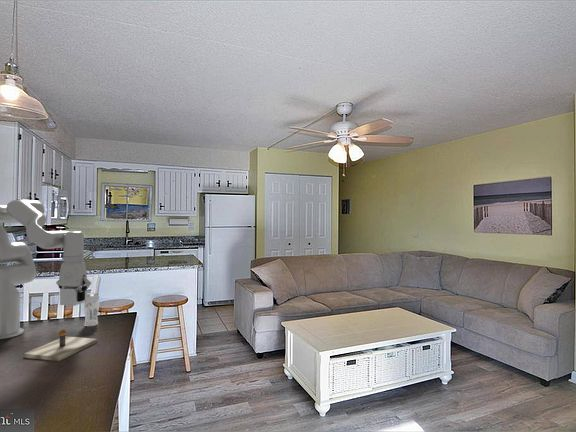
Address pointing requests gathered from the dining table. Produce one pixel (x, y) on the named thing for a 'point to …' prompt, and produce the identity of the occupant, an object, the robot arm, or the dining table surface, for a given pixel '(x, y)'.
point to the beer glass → (91, 310)
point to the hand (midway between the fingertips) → (73, 300)
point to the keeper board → (60, 347)
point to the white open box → (70, 296)
